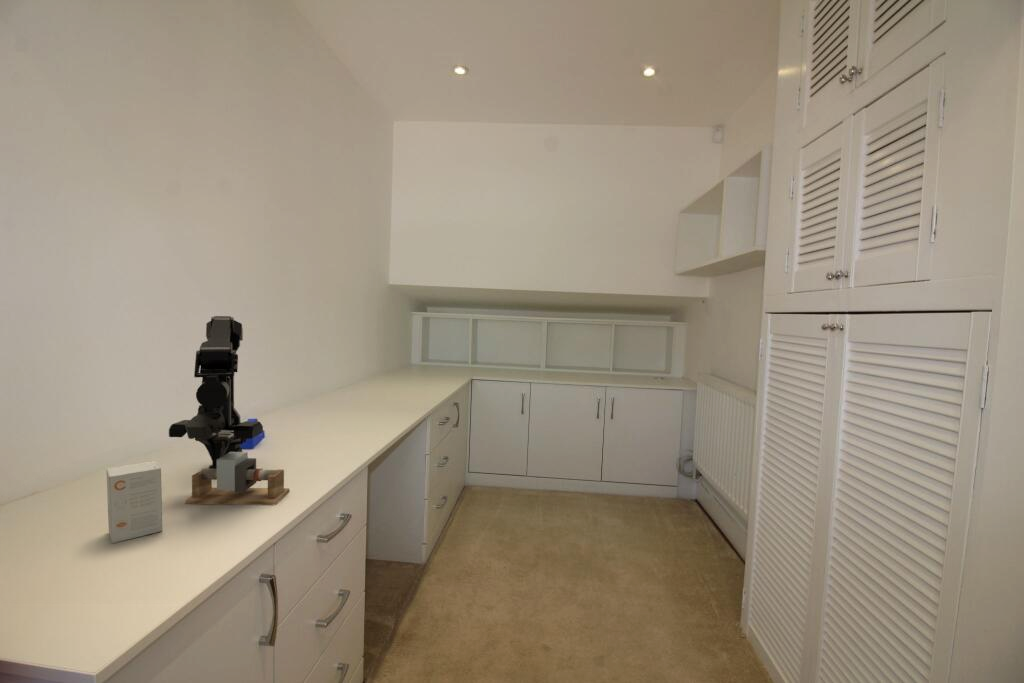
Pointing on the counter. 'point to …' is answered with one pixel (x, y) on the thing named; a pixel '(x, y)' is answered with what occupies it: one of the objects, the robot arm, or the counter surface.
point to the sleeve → (228, 469)
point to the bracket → (253, 439)
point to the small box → (134, 500)
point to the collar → (244, 474)
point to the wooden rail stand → (211, 495)
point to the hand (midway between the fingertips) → (217, 465)
